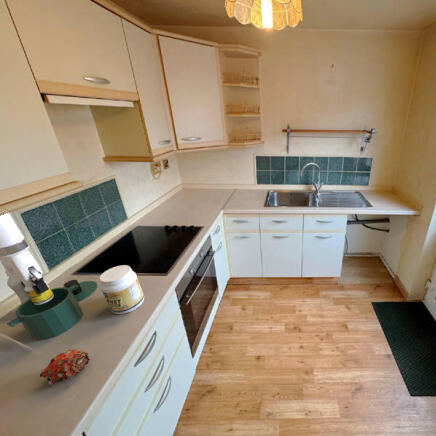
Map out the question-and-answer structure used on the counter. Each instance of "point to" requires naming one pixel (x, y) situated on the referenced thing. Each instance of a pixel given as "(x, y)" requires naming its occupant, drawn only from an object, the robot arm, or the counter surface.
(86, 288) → the pot lid
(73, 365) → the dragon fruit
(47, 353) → the counter surface
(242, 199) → the counter surface
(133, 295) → the supplement tub
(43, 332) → the pot
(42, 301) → the supplement bottle
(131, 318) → the counter surface
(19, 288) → the silver metal bottle
